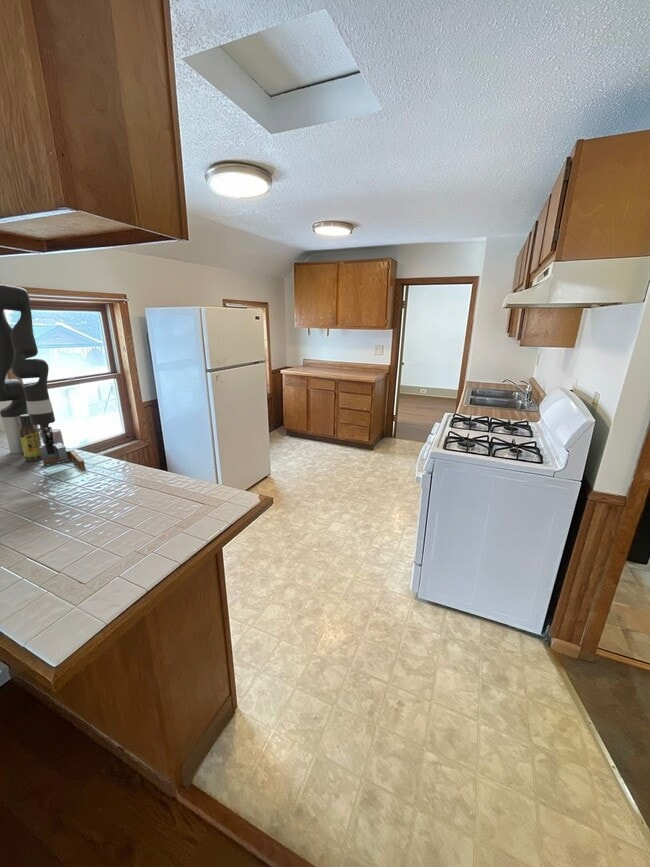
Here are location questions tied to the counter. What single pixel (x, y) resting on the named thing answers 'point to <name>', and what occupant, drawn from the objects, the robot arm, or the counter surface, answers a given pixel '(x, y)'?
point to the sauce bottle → (29, 439)
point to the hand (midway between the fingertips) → (50, 452)
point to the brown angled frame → (71, 456)
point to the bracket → (59, 452)
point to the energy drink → (57, 436)
